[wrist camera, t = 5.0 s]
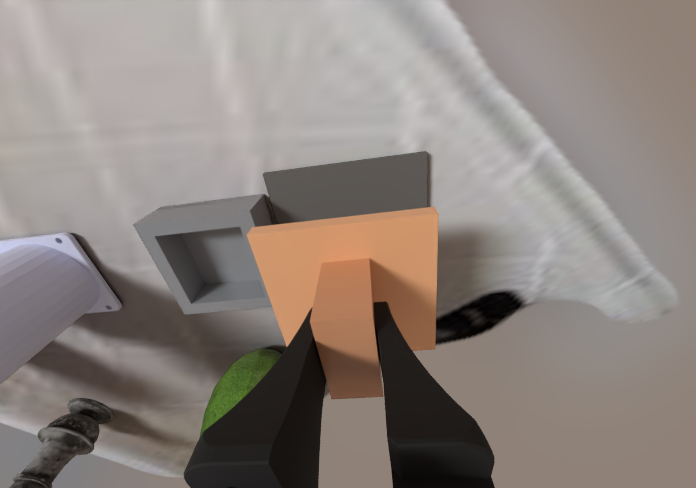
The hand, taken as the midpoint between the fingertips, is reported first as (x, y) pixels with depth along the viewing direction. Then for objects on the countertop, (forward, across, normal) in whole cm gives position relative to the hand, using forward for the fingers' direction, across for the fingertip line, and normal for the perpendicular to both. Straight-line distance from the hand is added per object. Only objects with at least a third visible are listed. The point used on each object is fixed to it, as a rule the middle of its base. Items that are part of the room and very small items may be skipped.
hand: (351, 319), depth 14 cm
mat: (+9, 0, 0) cm, 9 cm away
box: (+9, +10, 0) cm, 13 cm away
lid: (+2, 0, 0) cm, 2 cm away
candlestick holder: (+9, +36, +21) cm, 43 cm away
